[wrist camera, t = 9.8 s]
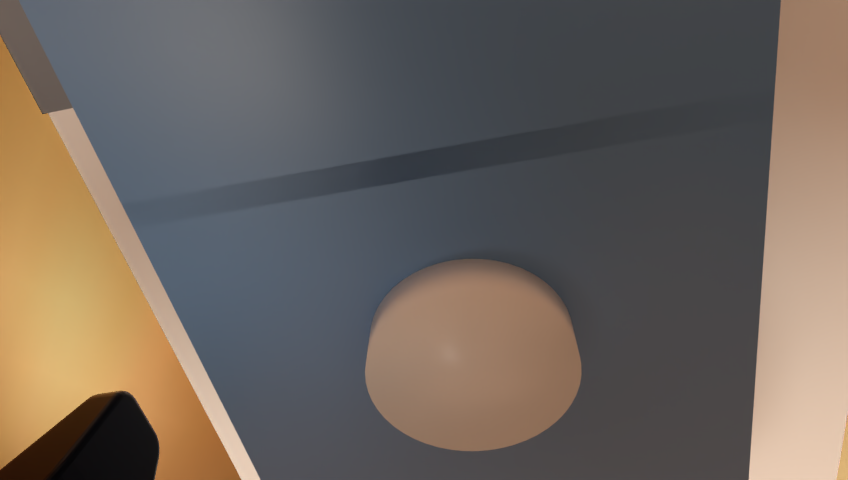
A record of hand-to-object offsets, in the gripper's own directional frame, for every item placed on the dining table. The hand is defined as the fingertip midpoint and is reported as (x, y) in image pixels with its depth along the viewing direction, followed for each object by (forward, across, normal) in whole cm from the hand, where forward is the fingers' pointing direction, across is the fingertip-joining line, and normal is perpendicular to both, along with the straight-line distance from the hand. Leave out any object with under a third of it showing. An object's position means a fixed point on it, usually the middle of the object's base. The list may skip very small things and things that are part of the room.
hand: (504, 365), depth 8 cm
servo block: (+4, 0, 0) cm, 4 cm away
